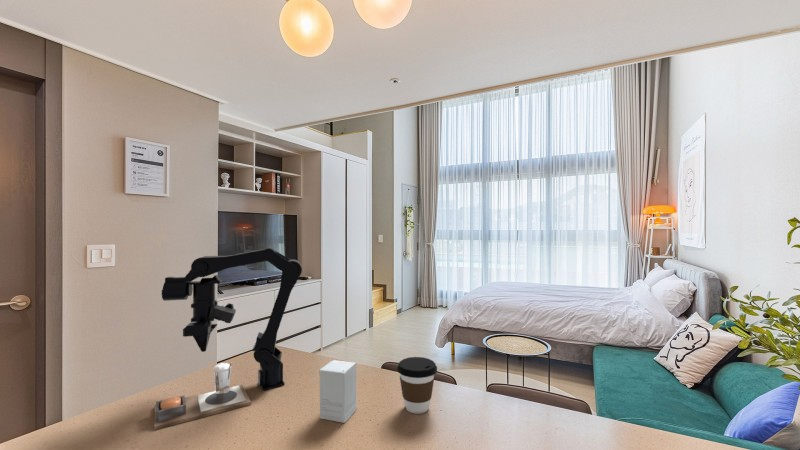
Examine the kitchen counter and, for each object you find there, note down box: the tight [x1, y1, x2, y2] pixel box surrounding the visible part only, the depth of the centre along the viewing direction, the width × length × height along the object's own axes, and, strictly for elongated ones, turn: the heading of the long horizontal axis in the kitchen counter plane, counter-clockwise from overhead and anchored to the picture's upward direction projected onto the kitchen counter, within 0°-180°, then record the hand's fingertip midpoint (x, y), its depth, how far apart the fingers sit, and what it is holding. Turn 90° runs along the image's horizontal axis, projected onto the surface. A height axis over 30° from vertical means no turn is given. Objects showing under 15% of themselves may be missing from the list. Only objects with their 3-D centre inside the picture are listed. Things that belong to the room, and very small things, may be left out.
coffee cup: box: [396, 356, 438, 415], centre depth 96 cm, size 11×11×12 cm
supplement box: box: [318, 359, 358, 424], centre depth 93 cm, size 7×7×13 cm
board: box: [153, 384, 252, 431], centre depth 97 cm, size 22×13×3 cm, turn 124°
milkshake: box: [212, 361, 233, 399], centre depth 101 cm, size 5×5×10 cm
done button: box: [161, 396, 181, 410], centre depth 92 cm, size 4×4×3 cm
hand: (203, 351), depth 106 cm, fingers closed
